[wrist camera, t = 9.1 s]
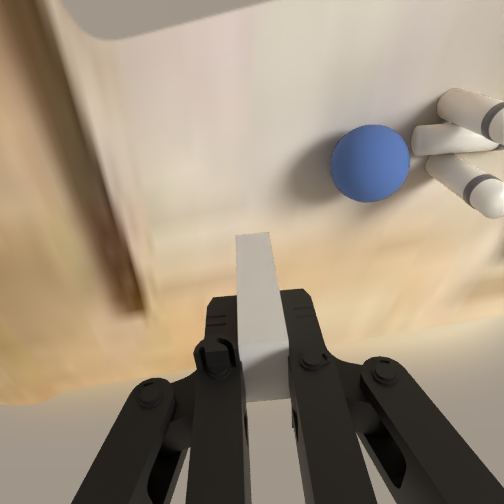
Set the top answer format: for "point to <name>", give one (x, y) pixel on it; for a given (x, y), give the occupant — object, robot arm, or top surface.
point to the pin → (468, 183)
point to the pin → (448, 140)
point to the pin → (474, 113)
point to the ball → (370, 163)
